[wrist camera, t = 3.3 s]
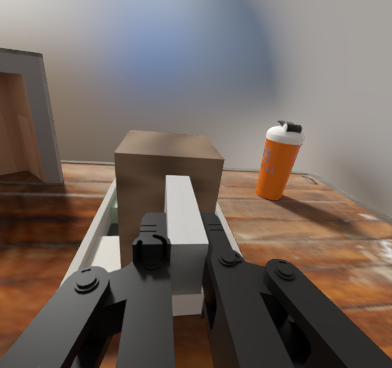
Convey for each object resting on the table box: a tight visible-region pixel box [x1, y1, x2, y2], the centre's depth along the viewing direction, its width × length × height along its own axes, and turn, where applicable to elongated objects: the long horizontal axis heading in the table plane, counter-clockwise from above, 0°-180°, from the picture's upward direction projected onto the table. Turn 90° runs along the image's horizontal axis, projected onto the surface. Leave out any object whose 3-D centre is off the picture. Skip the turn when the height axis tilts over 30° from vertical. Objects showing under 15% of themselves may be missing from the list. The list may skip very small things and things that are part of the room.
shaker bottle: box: [256, 121, 304, 200], centre depth 56 cm, size 9×9×20 cm
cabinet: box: [0, 48, 64, 185], centre depth 48 cm, size 21×10×28 cm, turn 98°
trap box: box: [59, 177, 244, 316], centre depth 37 cm, size 21×30×7 cm
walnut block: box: [114, 130, 224, 268], centre depth 24 cm, size 9×9×16 cm
